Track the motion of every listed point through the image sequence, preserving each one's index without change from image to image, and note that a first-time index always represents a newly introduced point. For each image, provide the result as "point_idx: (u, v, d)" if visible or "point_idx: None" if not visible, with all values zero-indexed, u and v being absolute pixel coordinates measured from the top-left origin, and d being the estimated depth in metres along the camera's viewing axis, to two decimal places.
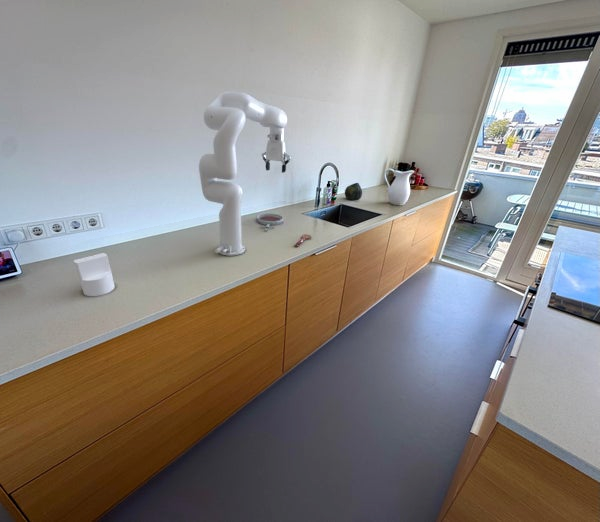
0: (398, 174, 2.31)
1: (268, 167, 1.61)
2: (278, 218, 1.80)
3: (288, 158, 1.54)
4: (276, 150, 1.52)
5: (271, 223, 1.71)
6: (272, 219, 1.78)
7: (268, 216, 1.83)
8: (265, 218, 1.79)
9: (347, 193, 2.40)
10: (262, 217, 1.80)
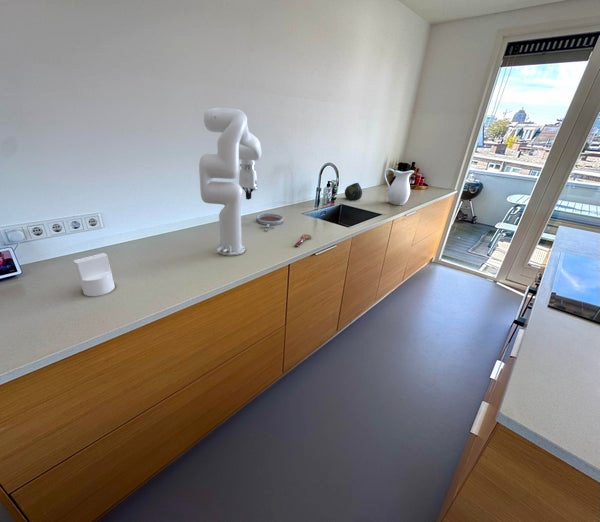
0: (398, 174, 2.31)
1: None
2: (278, 218, 1.80)
3: (254, 189, 1.68)
4: (247, 179, 1.64)
5: (271, 223, 1.71)
6: (272, 219, 1.78)
7: (268, 216, 1.83)
8: (265, 218, 1.79)
9: (347, 193, 2.40)
10: (262, 217, 1.80)
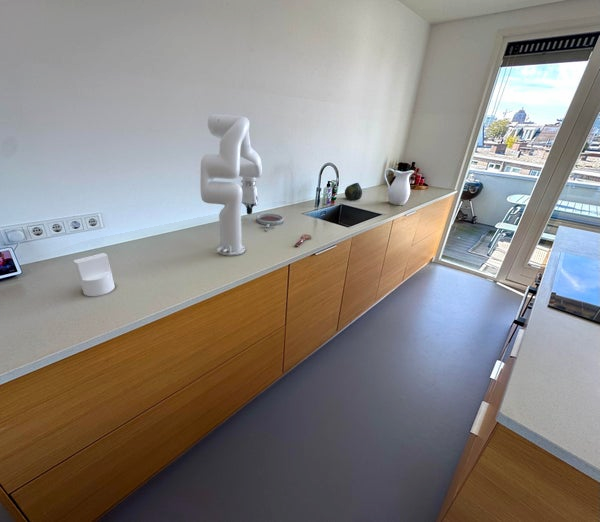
0: (398, 174, 2.31)
1: None
2: (278, 218, 1.80)
3: (255, 204, 1.71)
4: (248, 195, 1.68)
5: (271, 223, 1.71)
6: (272, 219, 1.78)
7: (268, 216, 1.83)
8: (265, 218, 1.79)
9: (347, 193, 2.40)
10: (262, 217, 1.80)
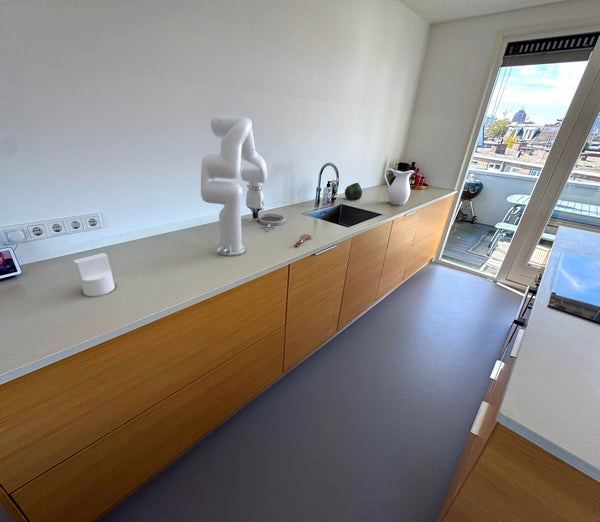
0: (398, 174, 2.31)
1: None
2: (279, 218, 1.80)
3: (261, 209, 1.71)
4: (255, 200, 1.68)
5: (272, 223, 1.71)
6: (273, 219, 1.78)
7: (269, 216, 1.83)
8: (266, 218, 1.79)
9: (347, 193, 2.40)
10: (263, 217, 1.80)
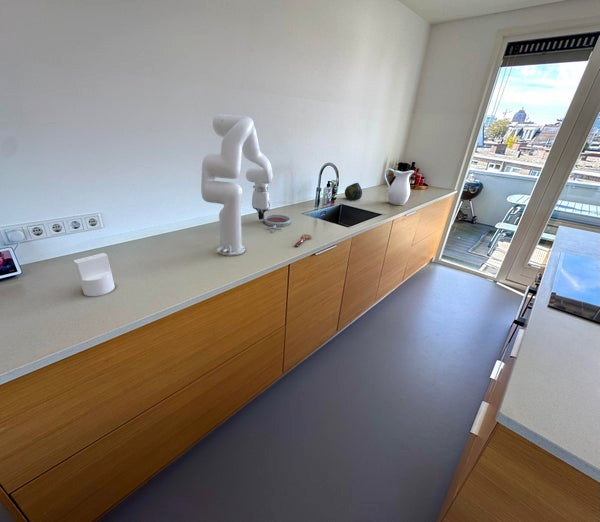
0: (398, 174, 2.31)
1: None
2: (285, 219, 1.79)
3: (267, 209, 1.70)
4: (261, 200, 1.67)
5: (278, 224, 1.70)
6: (279, 220, 1.77)
7: (275, 217, 1.82)
8: (272, 219, 1.78)
9: (347, 193, 2.40)
10: (269, 218, 1.79)
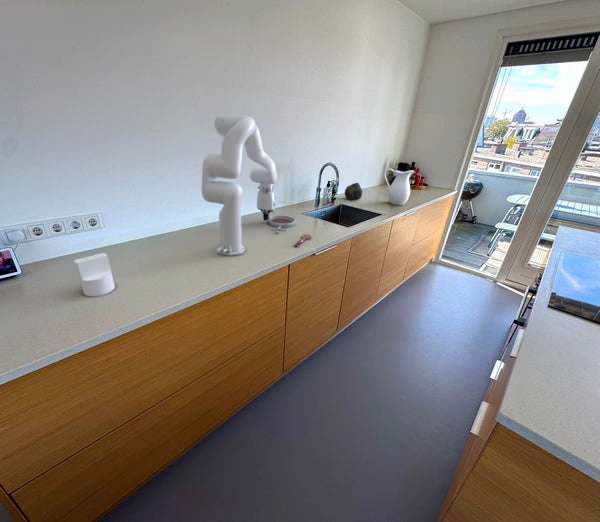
0: (398, 174, 2.31)
1: None
2: (290, 220, 1.78)
3: (272, 210, 1.69)
4: (266, 201, 1.66)
5: (283, 225, 1.69)
6: (284, 221, 1.76)
7: (280, 218, 1.81)
8: (277, 220, 1.77)
9: (347, 193, 2.40)
10: (274, 219, 1.78)
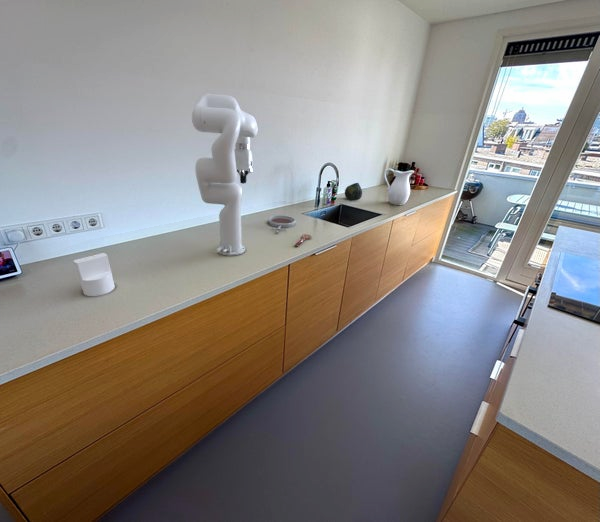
0: (398, 174, 2.31)
1: None
2: (290, 220, 1.78)
3: (249, 171, 1.52)
4: (242, 160, 1.49)
5: (283, 225, 1.69)
6: (284, 221, 1.76)
7: (280, 218, 1.81)
8: (277, 220, 1.77)
9: (347, 193, 2.40)
10: (274, 219, 1.78)
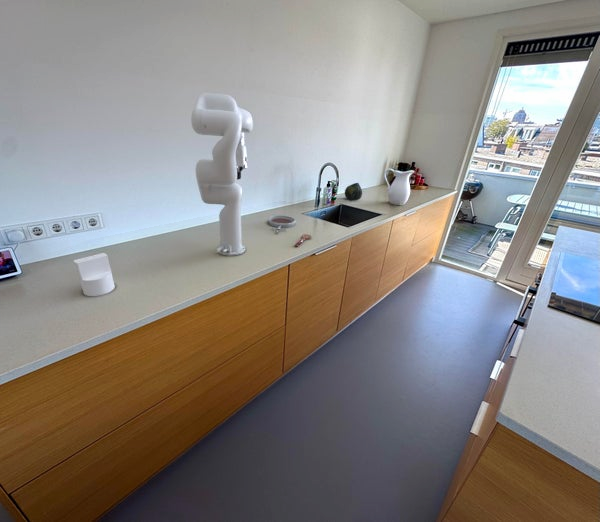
0: (398, 174, 2.31)
1: None
2: (290, 220, 1.78)
3: (243, 167, 1.49)
4: (236, 155, 1.46)
5: (283, 225, 1.69)
6: (284, 221, 1.76)
7: (280, 218, 1.81)
8: (277, 220, 1.77)
9: (347, 193, 2.40)
10: (274, 219, 1.78)
